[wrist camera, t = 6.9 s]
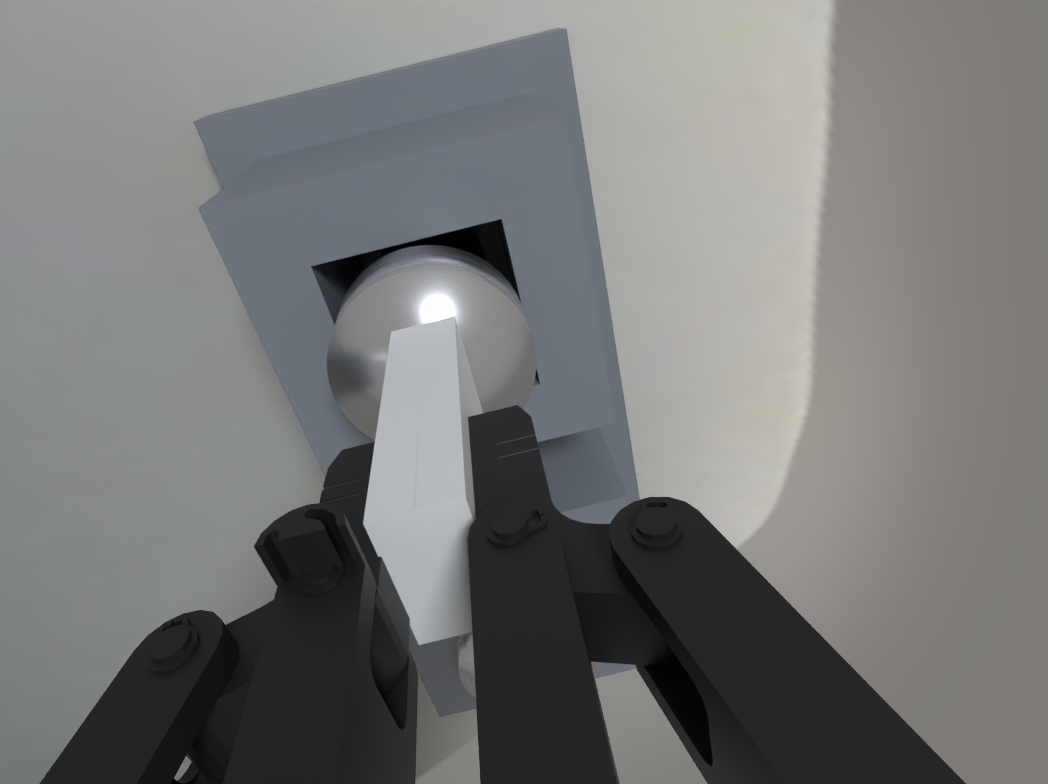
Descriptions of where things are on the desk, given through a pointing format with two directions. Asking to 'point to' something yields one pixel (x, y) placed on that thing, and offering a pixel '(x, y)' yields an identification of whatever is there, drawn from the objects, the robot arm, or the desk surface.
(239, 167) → the mount
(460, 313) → the knob
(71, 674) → the desk surface
